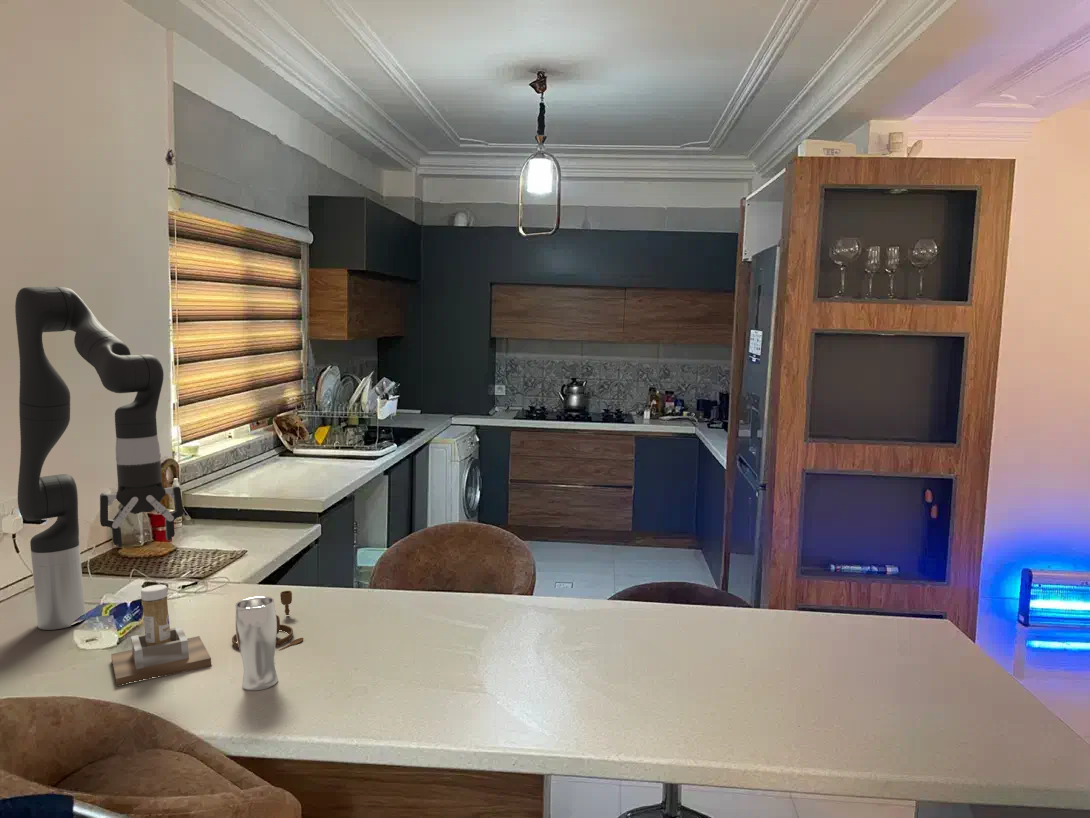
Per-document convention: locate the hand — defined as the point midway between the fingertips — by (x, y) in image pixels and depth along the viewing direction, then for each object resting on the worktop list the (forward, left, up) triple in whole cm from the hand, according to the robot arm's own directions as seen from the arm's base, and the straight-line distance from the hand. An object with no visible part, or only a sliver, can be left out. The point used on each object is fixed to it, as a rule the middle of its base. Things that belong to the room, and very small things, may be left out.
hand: (144, 543), depth 157 cm
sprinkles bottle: (+2, +1, -22) cm, 22 cm away
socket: (+3, +1, -23) cm, 23 cm away
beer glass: (+24, +15, -24) cm, 37 cm away
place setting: (0, +24, -24) cm, 34 cm away
